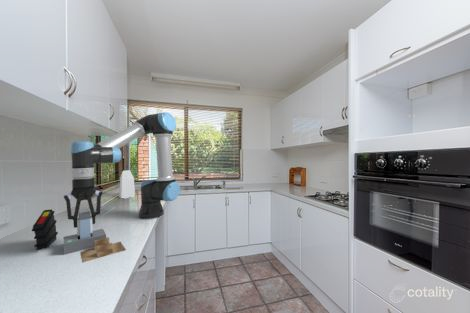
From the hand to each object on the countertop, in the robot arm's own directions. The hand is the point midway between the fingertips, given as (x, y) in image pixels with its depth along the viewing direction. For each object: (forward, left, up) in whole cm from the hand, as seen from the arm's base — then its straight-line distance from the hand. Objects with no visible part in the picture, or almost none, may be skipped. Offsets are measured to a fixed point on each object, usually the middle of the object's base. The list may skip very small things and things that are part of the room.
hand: (84, 233), depth 87 cm
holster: (-5, +12, -6) cm, 14 cm away
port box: (0, 0, -6) cm, 6 cm away
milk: (-41, -114, -6) cm, 121 cm away
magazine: (+13, -15, -6) cm, 21 cm away
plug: (0, 0, -4) cm, 4 cm away
